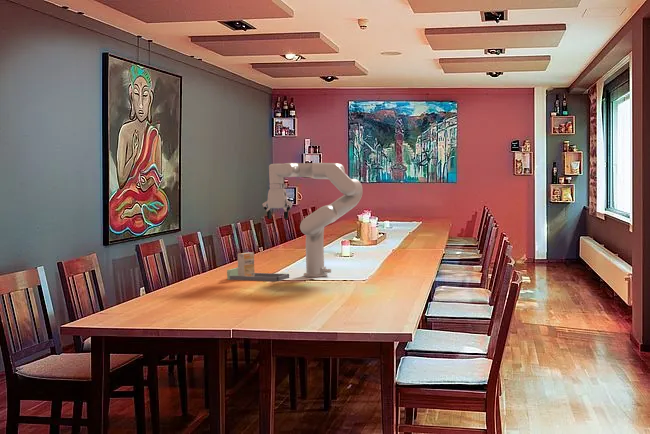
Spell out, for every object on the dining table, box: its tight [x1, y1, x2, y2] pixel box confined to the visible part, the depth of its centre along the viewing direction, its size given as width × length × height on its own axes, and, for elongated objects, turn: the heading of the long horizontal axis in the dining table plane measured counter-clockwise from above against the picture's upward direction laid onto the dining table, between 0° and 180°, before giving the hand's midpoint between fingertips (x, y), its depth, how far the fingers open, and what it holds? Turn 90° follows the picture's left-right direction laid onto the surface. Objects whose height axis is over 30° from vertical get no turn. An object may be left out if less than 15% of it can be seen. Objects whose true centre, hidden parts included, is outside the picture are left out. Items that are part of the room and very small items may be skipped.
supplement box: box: [237, 251, 256, 276], centre depth 410 cm, size 8×5×13 cm, turn 144°
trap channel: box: [226, 266, 290, 282], centre depth 408 cm, size 30×13×5 cm, turn 68°
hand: (277, 218), depth 417 cm, fingers open, 9 cm apart
